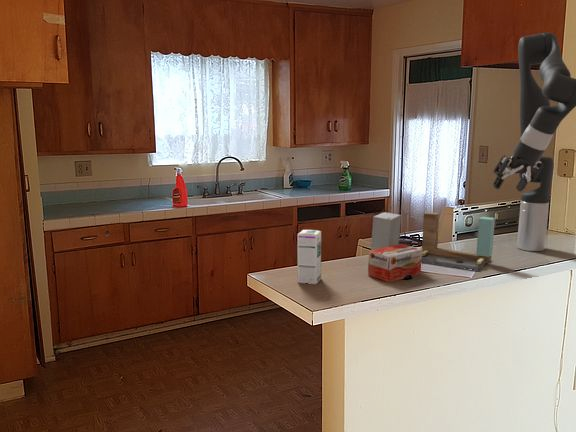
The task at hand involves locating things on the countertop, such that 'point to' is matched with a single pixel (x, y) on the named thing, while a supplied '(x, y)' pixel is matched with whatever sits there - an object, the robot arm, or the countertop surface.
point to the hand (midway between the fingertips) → (507, 188)
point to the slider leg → (485, 237)
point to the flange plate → (452, 261)
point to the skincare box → (385, 230)
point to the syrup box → (309, 256)
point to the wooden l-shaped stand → (432, 240)
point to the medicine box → (394, 262)
